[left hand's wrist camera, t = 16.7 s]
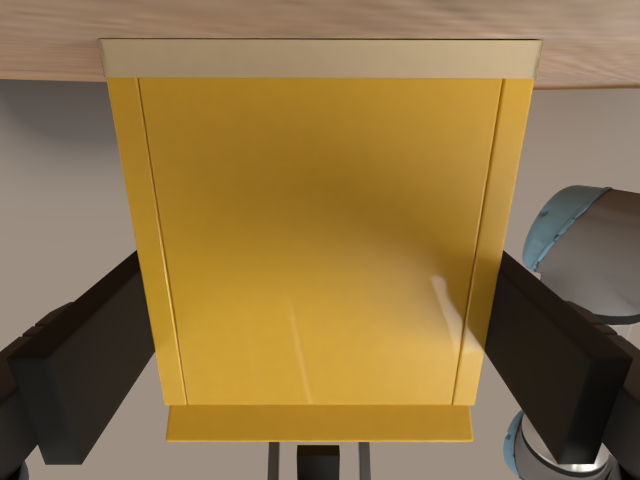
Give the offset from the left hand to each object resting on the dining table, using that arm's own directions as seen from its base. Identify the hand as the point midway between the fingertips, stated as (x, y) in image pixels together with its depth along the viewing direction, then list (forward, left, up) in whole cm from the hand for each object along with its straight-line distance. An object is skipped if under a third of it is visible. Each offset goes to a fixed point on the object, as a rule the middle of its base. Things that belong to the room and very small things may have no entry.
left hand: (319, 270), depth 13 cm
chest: (+5, -3, -7) cm, 9 cm away
